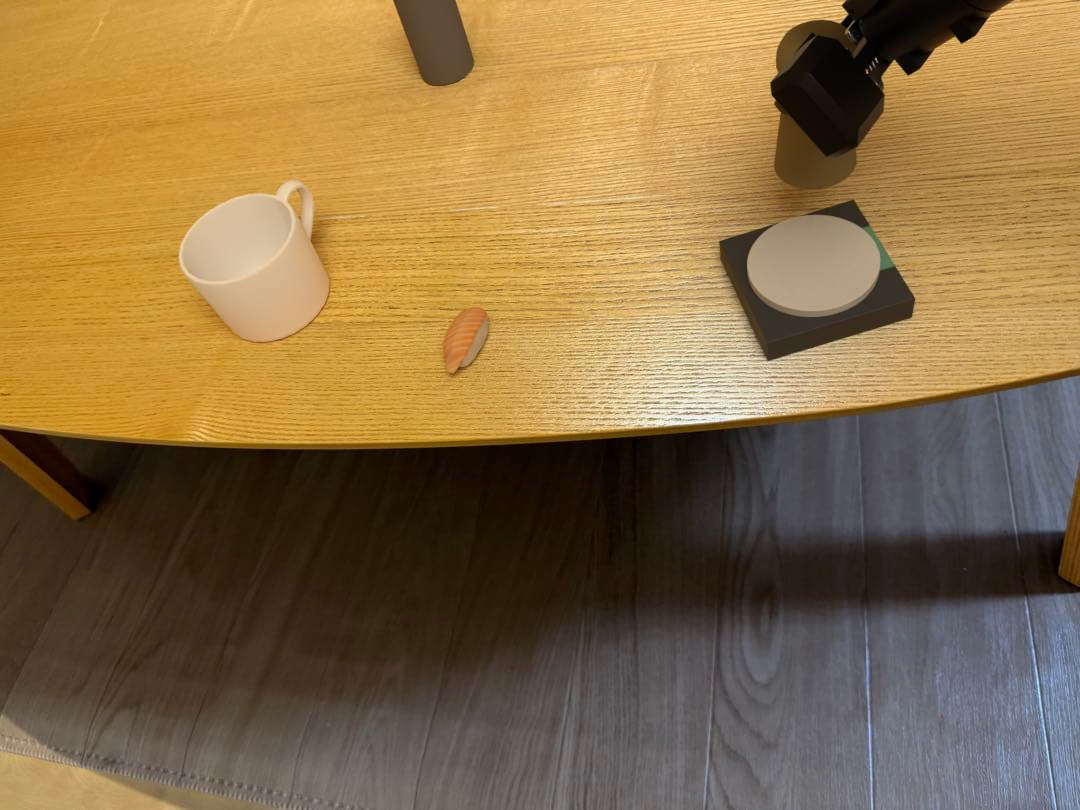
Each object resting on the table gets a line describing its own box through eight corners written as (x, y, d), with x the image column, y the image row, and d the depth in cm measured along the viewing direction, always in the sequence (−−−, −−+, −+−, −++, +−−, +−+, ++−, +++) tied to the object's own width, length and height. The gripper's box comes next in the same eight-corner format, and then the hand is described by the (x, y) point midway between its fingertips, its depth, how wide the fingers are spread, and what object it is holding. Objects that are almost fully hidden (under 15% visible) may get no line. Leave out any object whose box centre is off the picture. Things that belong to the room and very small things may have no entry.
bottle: (412, 84, 99) (360, -51, 87) (435, 49, 102) (388, -87, 90) (460, 88, 97) (414, -50, 85) (483, 52, 99) (441, -87, 87)
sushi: (498, 321, 78) (489, 298, 75) (468, 383, 75) (457, 361, 72) (470, 316, 79) (460, 293, 76) (439, 377, 76) (428, 355, 73)
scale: (852, 218, 76) (854, 191, 73) (912, 317, 69) (916, 290, 67) (720, 259, 76) (718, 233, 74) (767, 361, 70) (767, 336, 67)
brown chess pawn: (850, 128, 72) (855, -2, 63) (863, 182, 69) (871, 52, 60) (769, 141, 73) (763, 15, 65) (778, 195, 70) (774, 70, 61)
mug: (283, 361, 80) (239, 300, 74) (201, 325, 85) (152, 264, 78) (376, 252, 85) (342, 186, 79) (293, 223, 90) (255, 158, 84)
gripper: (960, -239, 54) (788, -77, 68) (799, -57, 47) (646, 80, 61) (1076, -87, 56) (886, 39, 70) (937, 107, 50) (759, 202, 64)
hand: (797, 84), depth 66 cm, fingers closed on brown chess pawn, 5 cm apart
